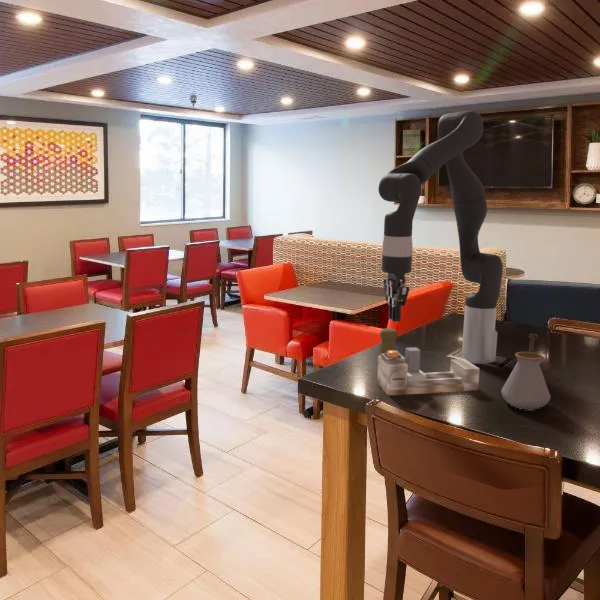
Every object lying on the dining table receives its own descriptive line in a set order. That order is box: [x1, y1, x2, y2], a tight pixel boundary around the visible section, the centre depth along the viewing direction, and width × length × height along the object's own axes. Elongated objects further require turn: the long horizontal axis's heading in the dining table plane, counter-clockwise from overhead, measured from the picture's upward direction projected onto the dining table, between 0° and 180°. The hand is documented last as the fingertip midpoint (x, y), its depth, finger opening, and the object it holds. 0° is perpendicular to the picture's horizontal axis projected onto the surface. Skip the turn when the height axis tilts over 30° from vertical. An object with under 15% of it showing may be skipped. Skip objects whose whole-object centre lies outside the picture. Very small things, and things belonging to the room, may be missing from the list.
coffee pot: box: [501, 332, 552, 411], centre depth 152 cm, size 21×12×15 cm, turn 155°
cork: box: [378, 327, 398, 356], centre depth 179 cm, size 6×6×11 cm
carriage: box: [404, 346, 427, 382], centre depth 158 cm, size 5×8×8 cm, turn 10°
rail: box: [376, 352, 480, 396], centre depth 159 cm, size 25×10×9 cm, turn 101°
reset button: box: [387, 350, 400, 358], centre depth 157 cm, size 3×3×2 cm
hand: (394, 319), depth 155 cm, fingers closed
